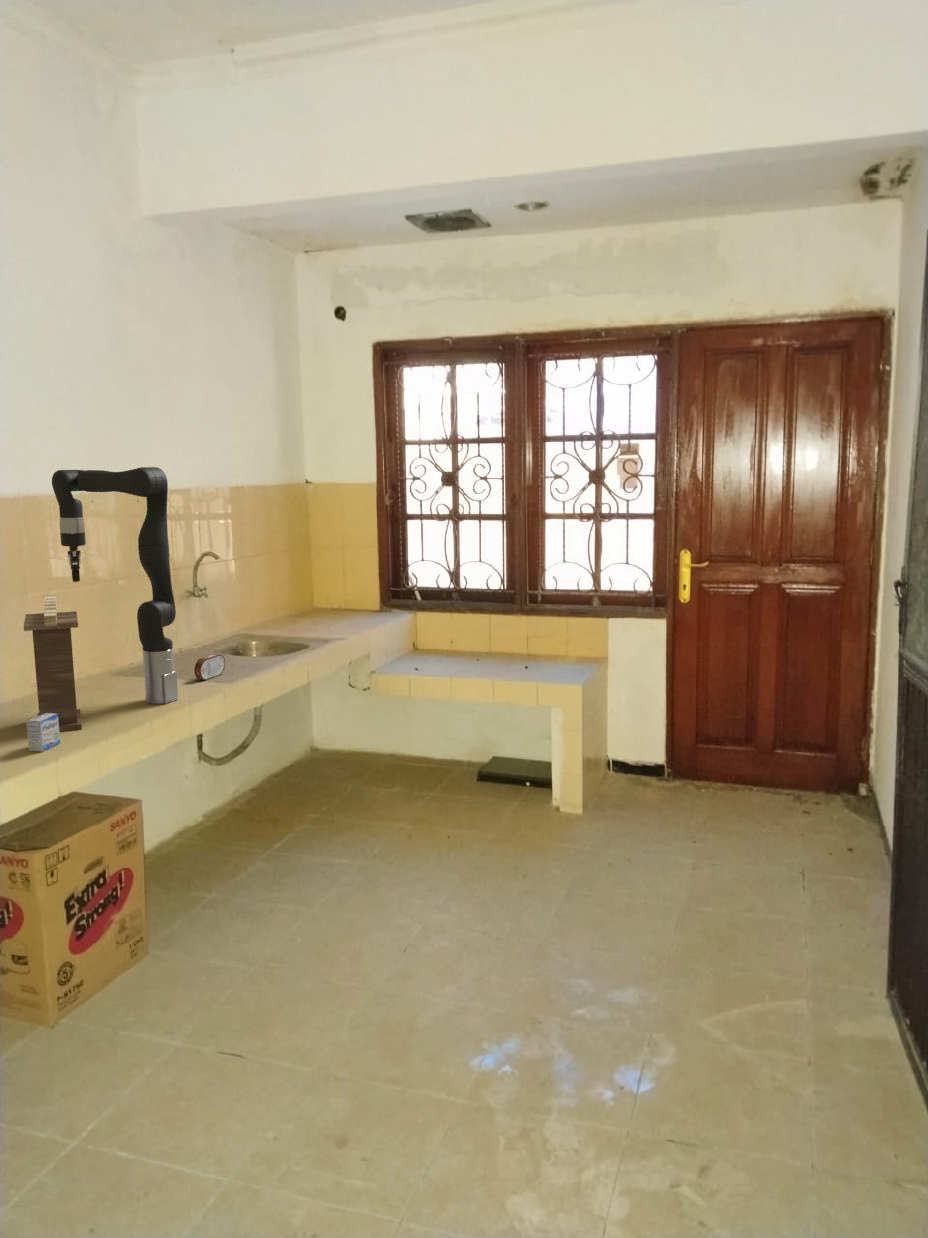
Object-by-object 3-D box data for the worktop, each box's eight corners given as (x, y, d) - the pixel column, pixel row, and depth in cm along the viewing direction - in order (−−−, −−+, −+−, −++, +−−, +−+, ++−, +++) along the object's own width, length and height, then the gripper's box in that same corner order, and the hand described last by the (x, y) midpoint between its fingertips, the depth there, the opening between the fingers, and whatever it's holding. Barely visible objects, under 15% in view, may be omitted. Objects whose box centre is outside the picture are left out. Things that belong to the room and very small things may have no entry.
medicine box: (43, 752, 245) (40, 721, 244) (28, 751, 246) (25, 720, 244) (60, 743, 253) (58, 713, 251) (46, 742, 253) (43, 712, 252)
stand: (34, 717, 277) (25, 614, 272) (83, 712, 283) (76, 611, 277) (32, 735, 259) (23, 625, 254) (85, 729, 265) (77, 622, 259)
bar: (46, 605, 288) (45, 595, 288) (56, 604, 289) (55, 595, 289) (44, 626, 252) (43, 616, 252) (56, 626, 253) (55, 615, 253)
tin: (220, 672, 335) (219, 650, 333) (227, 673, 334) (226, 651, 332) (194, 682, 321) (192, 658, 320) (201, 683, 320) (200, 659, 319)
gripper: (60, 529, 303) (63, 577, 306) (60, 533, 290) (63, 583, 293) (84, 529, 306) (87, 576, 309) (85, 532, 293) (88, 582, 296)
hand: (76, 579), depth 301 cm, fingers open, 8 cm apart
